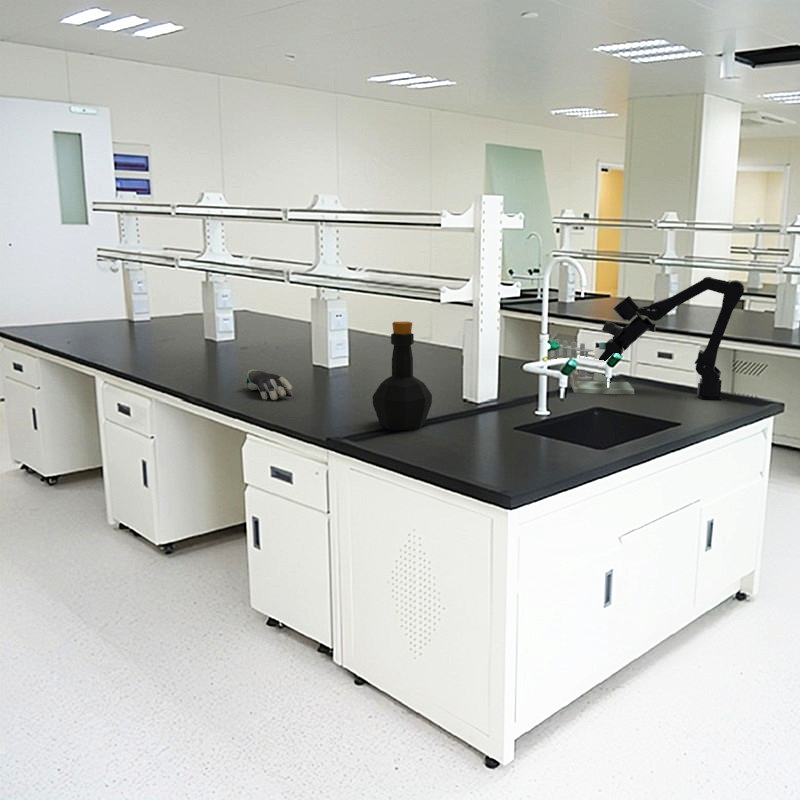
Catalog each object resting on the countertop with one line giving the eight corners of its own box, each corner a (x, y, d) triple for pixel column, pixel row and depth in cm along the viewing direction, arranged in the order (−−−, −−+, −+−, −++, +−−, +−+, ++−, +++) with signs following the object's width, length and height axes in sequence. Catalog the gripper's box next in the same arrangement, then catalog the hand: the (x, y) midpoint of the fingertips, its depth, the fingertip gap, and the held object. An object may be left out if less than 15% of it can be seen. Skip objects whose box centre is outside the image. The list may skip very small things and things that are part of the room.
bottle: (398, 416, 248) (397, 317, 241) (441, 424, 237) (442, 321, 231) (362, 426, 236) (361, 322, 229) (407, 435, 225) (407, 327, 219)
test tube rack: (592, 379, 307) (594, 344, 304) (584, 380, 304) (585, 345, 302) (545, 369, 327) (546, 336, 324) (537, 370, 325) (538, 337, 322)
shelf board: (628, 386, 293) (629, 368, 291) (634, 394, 279) (635, 375, 278) (571, 385, 295) (571, 367, 294) (574, 392, 281) (575, 374, 280)
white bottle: (614, 379, 287) (615, 342, 284) (606, 382, 282) (608, 344, 279) (598, 377, 290) (599, 341, 288) (590, 380, 286) (592, 343, 283)
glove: (240, 398, 287) (266, 401, 265) (239, 369, 286) (266, 370, 265) (273, 396, 293) (301, 400, 272) (272, 368, 292) (301, 370, 271)
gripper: (621, 310, 288) (588, 340, 295) (613, 316, 271) (578, 347, 278) (643, 334, 287) (609, 363, 293) (636, 341, 270) (600, 372, 277)
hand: (599, 361), depth 285 cm, fingers closed on white bottle, 6 cm apart
